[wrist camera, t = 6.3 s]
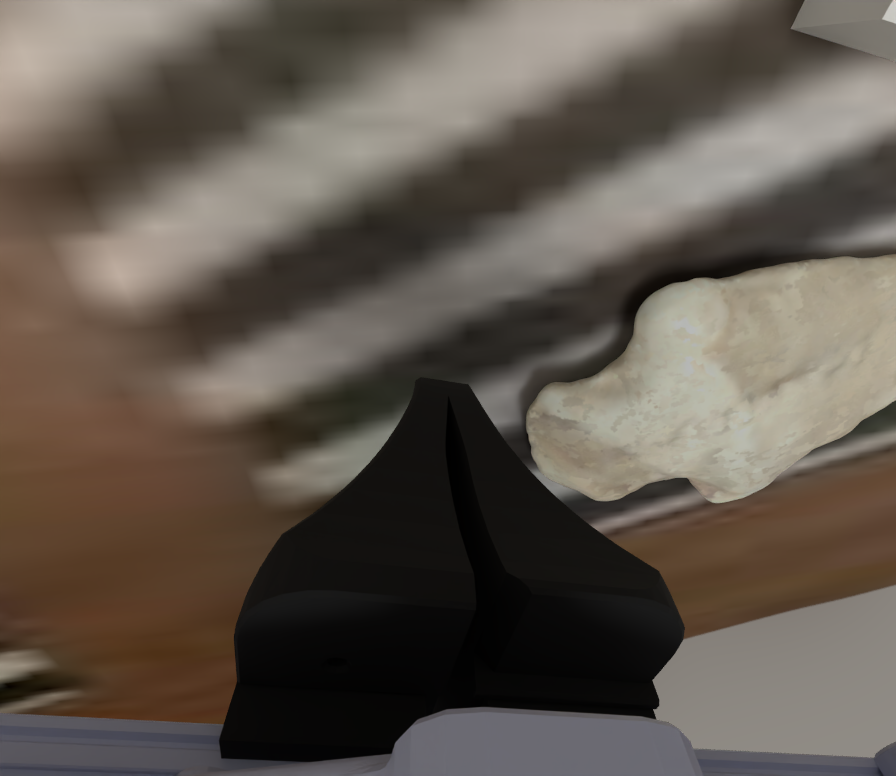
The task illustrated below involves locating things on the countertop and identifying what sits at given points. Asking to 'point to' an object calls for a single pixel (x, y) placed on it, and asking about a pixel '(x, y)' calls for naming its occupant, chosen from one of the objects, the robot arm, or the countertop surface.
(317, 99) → the countertop surface
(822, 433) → the rock
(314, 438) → the countertop surface
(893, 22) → the digit one block
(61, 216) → the countertop surface
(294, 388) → the countertop surface
